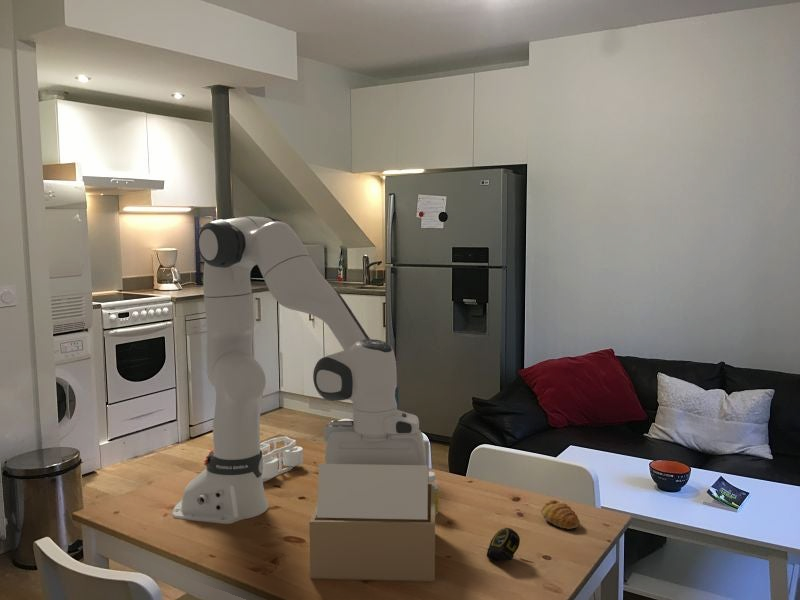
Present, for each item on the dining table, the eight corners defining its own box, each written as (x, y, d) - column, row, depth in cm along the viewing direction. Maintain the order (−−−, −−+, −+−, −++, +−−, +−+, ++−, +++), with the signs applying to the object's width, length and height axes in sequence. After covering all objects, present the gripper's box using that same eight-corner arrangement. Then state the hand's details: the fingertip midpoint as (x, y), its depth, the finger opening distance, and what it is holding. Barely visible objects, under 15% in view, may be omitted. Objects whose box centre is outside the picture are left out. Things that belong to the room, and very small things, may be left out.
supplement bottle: (436, 518, 161) (436, 478, 160) (413, 516, 162) (413, 476, 161) (439, 509, 167) (439, 470, 166) (417, 507, 168) (417, 469, 167)
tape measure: (495, 565, 140) (481, 554, 140) (510, 537, 144) (497, 526, 144) (513, 565, 135) (499, 553, 134) (528, 536, 138) (515, 524, 138)
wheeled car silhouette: (265, 487, 182) (264, 460, 181) (233, 480, 187) (233, 454, 187) (310, 465, 199) (310, 440, 199) (280, 459, 205) (280, 435, 204)
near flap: (317, 517, 131) (316, 517, 131) (319, 463, 134) (318, 463, 133) (427, 519, 130) (427, 519, 130) (427, 465, 132) (427, 465, 132)
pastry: (586, 528, 155) (588, 512, 155) (563, 533, 152) (564, 516, 152) (559, 512, 164) (560, 497, 163) (537, 516, 160) (538, 501, 160)
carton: (310, 581, 132) (309, 521, 131) (328, 532, 154) (327, 480, 153) (434, 584, 131) (434, 524, 129) (435, 534, 152) (435, 482, 151)
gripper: (321, 424, 134) (322, 493, 136) (425, 425, 133) (425, 494, 134) (326, 416, 140) (327, 481, 142) (425, 416, 139) (425, 482, 141)
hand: (376, 487), depth 138 cm, fingers closed
